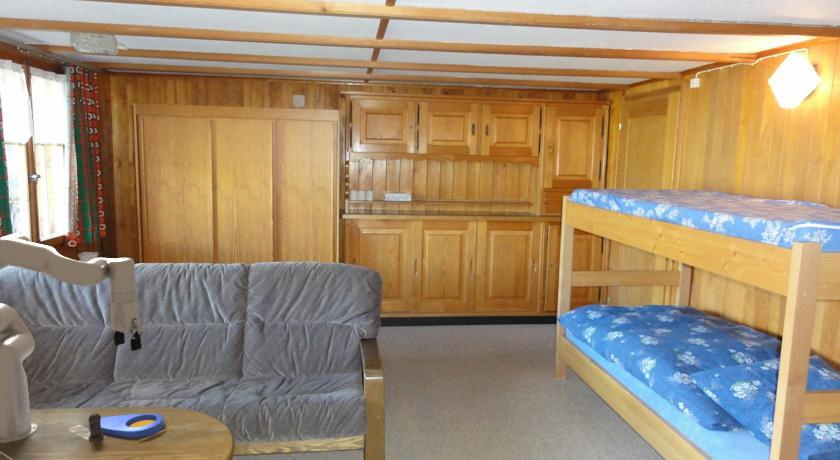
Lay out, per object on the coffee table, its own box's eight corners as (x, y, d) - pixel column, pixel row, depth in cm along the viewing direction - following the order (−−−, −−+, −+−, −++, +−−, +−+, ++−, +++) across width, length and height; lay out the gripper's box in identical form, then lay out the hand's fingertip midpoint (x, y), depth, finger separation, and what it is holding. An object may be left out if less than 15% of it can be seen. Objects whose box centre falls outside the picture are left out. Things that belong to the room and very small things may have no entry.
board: (64, 431, 193) (64, 429, 193) (80, 425, 197) (80, 423, 197) (91, 445, 184) (91, 443, 183) (107, 439, 188) (107, 437, 188)
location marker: (76, 438, 190) (149, 441, 187) (75, 428, 189) (148, 430, 186) (103, 420, 203) (172, 422, 200) (102, 410, 202) (171, 412, 199)
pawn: (86, 439, 186) (84, 414, 185) (99, 434, 189) (97, 409, 188) (93, 443, 184) (91, 417, 183) (106, 437, 187) (104, 412, 186)
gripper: (98, 295, 194) (102, 345, 197) (127, 302, 184) (131, 355, 187) (120, 290, 200) (124, 339, 203) (150, 297, 191) (153, 348, 193)
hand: (128, 347), depth 195 cm, fingers open, 9 cm apart
